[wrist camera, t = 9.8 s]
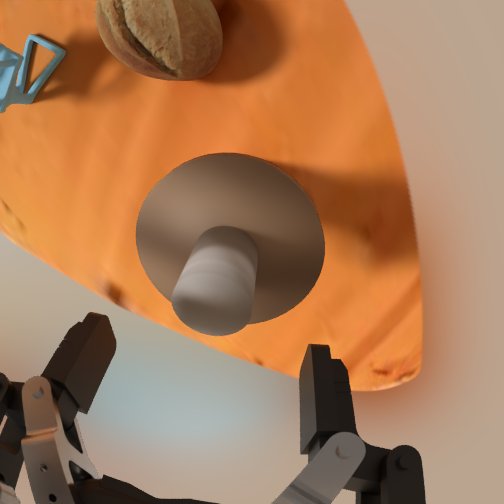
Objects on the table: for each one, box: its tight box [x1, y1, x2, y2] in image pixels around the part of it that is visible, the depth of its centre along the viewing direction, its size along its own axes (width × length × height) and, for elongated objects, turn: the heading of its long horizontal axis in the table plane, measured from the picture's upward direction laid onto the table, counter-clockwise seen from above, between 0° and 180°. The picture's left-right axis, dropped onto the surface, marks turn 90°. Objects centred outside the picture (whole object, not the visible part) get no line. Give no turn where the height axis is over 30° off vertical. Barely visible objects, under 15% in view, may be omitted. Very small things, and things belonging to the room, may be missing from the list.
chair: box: [0, 34, 66, 113], centre depth 17 cm, size 8×8×12 cm
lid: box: [136, 153, 325, 336], centre depth 15 cm, size 11×11×6 cm
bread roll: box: [95, 0, 223, 81], centre depth 17 cm, size 10×15×8 cm, turn 31°
